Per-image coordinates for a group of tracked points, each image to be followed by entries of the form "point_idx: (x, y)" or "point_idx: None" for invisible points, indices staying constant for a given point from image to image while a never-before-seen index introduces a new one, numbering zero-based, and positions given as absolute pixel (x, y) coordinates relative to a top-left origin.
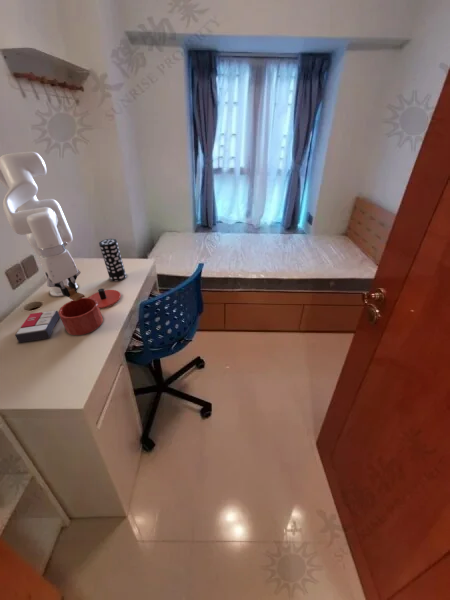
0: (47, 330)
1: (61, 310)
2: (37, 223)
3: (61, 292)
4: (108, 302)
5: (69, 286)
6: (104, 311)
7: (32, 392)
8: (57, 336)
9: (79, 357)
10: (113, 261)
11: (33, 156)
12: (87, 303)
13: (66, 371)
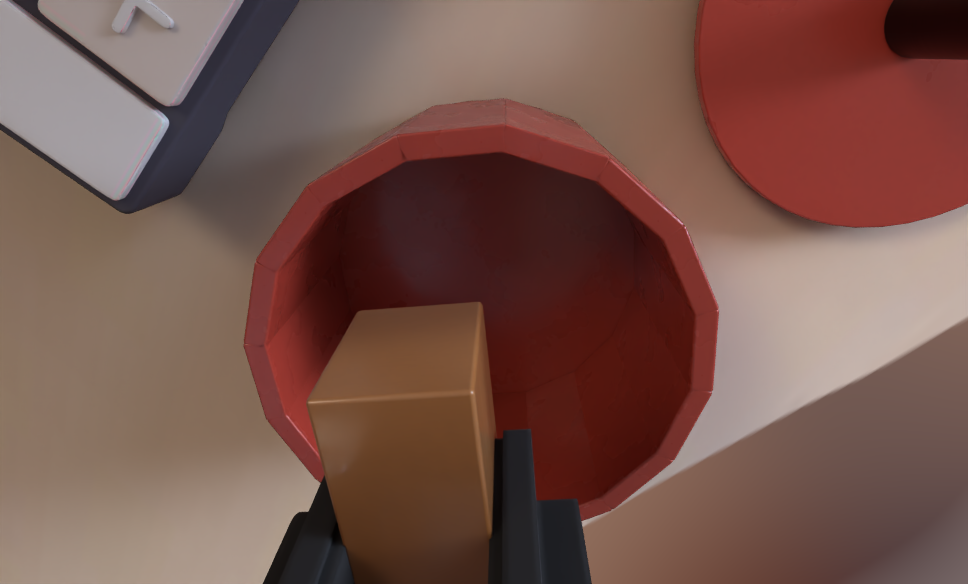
0: (156, 190)
1: (305, 236)
2: None
3: None
4: (858, 170)
5: (491, 564)
6: (719, 235)
7: (21, 563)
8: (245, 229)
9: None
10: None
11: None
12: (646, 228)
13: (197, 570)
